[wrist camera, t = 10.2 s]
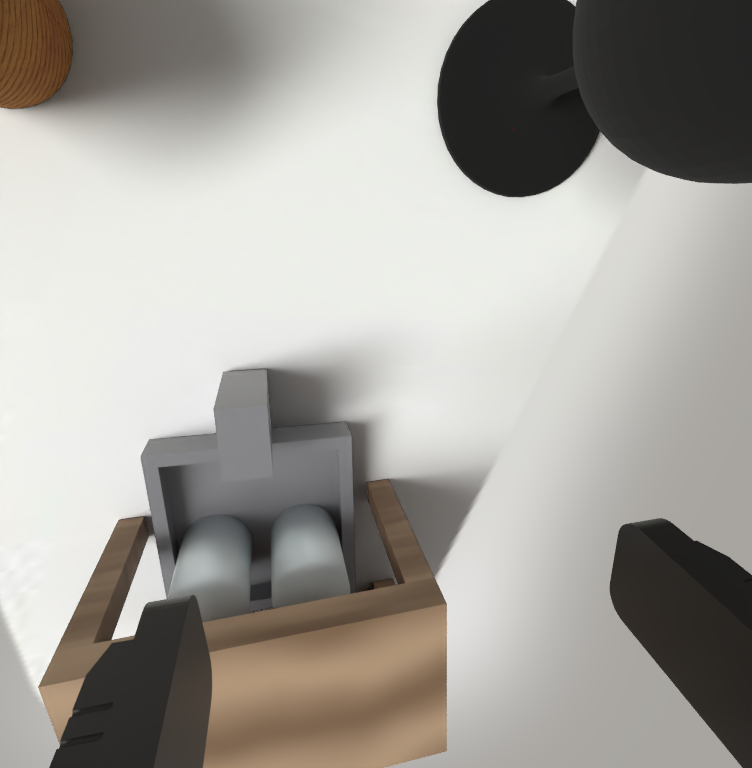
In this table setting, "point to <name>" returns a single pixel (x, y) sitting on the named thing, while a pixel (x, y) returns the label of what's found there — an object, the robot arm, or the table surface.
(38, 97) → the disposable coffee cup
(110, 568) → the small wooden table
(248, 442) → the tray
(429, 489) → the table surface
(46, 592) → the table surface
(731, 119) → the wine glass
